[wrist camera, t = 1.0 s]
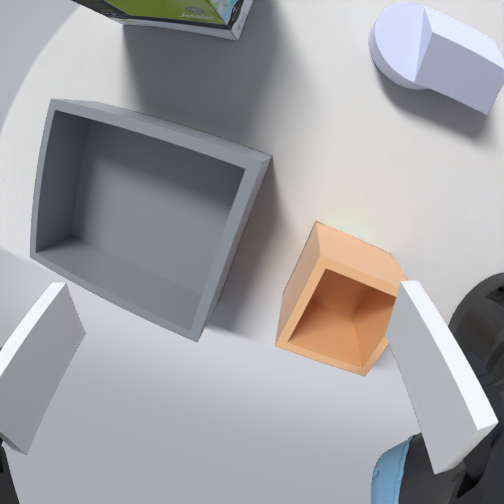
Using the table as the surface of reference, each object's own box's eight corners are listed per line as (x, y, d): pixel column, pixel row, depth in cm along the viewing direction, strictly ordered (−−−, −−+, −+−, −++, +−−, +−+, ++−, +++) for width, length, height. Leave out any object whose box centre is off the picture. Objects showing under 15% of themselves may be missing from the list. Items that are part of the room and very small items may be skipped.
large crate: (272, 156, 31) (262, 161, 24) (217, 303, 38) (197, 342, 30) (95, 101, 31) (51, 98, 24) (69, 236, 38) (29, 257, 31)
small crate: (390, 253, 32) (418, 296, 23) (353, 320, 36) (365, 376, 26) (315, 220, 33) (320, 254, 23) (283, 293, 36) (274, 345, 27)
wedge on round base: (479, 46, 22) (374, 2, 23) (510, 33, 16) (388, -25, 17) (471, 116, 26) (362, 73, 27) (504, 114, 20) (376, 58, 20)
